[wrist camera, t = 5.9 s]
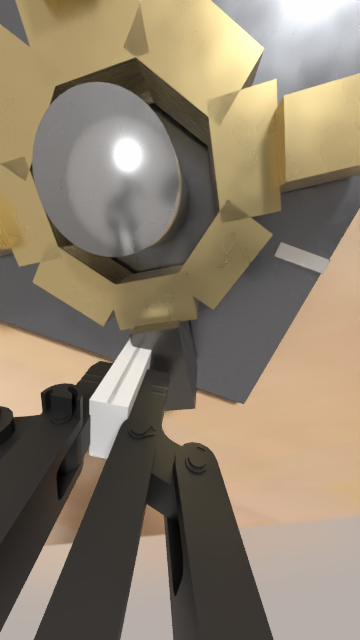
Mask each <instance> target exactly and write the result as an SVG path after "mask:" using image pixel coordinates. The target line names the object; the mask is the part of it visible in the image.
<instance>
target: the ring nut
mask: <svg viewBox="0 0 360 640" xmlns="http://www.w3.org/2000/svg"><path fill="white" fill-rule="evenodd" d="M15 1H16V4H17V7H18V10H19V13H20V16H21V20H22V23H23V26H24V29H25V32H26V35H27V39H28V42H29V45H30V47H29V46H28V45H27V44H25V43H24V42H23V41H21V40H20V39H19V38H17V37H16V36H15V35H14V34H12V33H11V32H10V31H8V30H7V29H6V28H4V27H3V26H2V25H1V24H0V256H4V255H8V254H14V256H15V258H16V261H17V263H18V265H19V267H20V266H25V265H30V264H35V263H40V264H39V267H38V269H37V272H36V274H35V277H34V279H33V283H34V284H36V285H38V286H39V287H41V288H42V289H44V290H46V291H47V292H49V293H50V294H52V295H54V296H55V297H57V298H58V299H60V300H62V301H63V302H65V303H66V304H68V305H70V306H71V307H73V308H74V309H76V310H78V311H79V312H81V313H82V314H84V315H86V316H87V317H89V318H90V319H92V320H94V321H95V322H97V323H98V324H100V325H102V326H104V325H106V324H107V323H108V322H109V321H110V320H111V319H112V318H113V317H114V316H115V315H116V319H117V322H118V325H119V328H120V330H125V329H132V328H134V329H133V330H132V331H131V333H130V334H129V336H130V339H131V342H132V346H133V347H137V348H143V349H148V350H152V351H151V359H150V367H149V370H154V371H160V372H165V373H167V374H168V377H169V379H170V383H169V388H168V394H167V400H166V406H165V411H169V410H182V409H195V404H196V386H197V367H198V366H197V361H196V356H195V351H194V346H193V341H192V336H191V331H190V326H189V321H188V320H194V319H197V316H198V305H199V300H200V301H201V302H202V303H204V304H205V305H207V306H208V307H210V308H211V309H213V310H214V309H215V307H216V306H217V305H218V304H219V302H220V301H221V300H222V298H223V297H224V296H225V295H226V293H227V292H228V291H229V290H230V288H231V287H232V286H233V285H234V283H235V282H236V281H237V280H238V278H239V277H240V276H241V275H242V273H243V272H244V271H245V269H246V268H247V267H248V266H249V264H250V263H251V262H252V261H253V259H254V258H255V257H256V256H257V254H258V253H259V252H260V251H261V249H262V248H263V247H264V245H265V244H266V243H267V242H268V240H269V239H270V238H271V237H272V235H273V234H272V233H270V232H269V231H268V230H266V229H265V228H264V227H263V226H261V225H260V224H259V223H257V222H256V221H255V220H253V219H252V218H253V217H258V216H262V215H266V214H270V213H274V212H278V211H281V196H280V193H283V192H287V191H291V190H296V189H300V188H305V187H309V186H313V185H318V184H322V183H327V182H331V181H336V180H340V179H344V178H349V177H353V176H358V175H360V73H359V74H355V75H352V76H349V77H345V78H342V79H338V80H335V81H332V82H328V83H325V84H321V85H318V86H315V87H311V88H308V89H304V90H301V91H298V92H294V93H291V94H287V95H284V96H283V98H282V100H281V101H280V103H279V105H278V106H277V79H274V80H271V81H267V82H264V83H261V84H258V85H254V86H252V85H253V82H254V79H255V76H256V73H257V70H258V67H259V64H260V61H261V57H262V54H263V51H264V48H263V47H262V46H261V45H260V44H259V43H258V42H257V41H255V40H254V39H253V38H252V37H251V36H250V35H249V34H248V33H247V32H245V31H244V30H243V29H242V28H241V27H240V26H239V25H238V24H237V23H235V22H234V21H233V20H232V19H231V18H230V17H229V16H228V15H227V14H226V13H224V12H223V11H222V10H221V9H220V8H219V7H218V6H217V5H216V4H214V3H213V2H212V1H211V0H15ZM88 82H105V83H111V84H114V85H118V86H121V87H123V88H125V89H127V90H129V91H131V92H132V93H134V94H135V95H137V96H138V97H140V98H141V99H142V100H143V101H144V102H145V103H146V104H151V103H155V104H156V105H157V106H158V107H160V108H161V109H162V110H163V111H165V112H166V113H167V114H169V115H170V116H171V117H172V118H174V119H175V120H176V121H177V122H179V123H180V124H181V125H182V126H184V127H185V128H186V129H187V130H189V131H190V132H191V133H192V134H194V135H195V136H196V137H197V138H199V139H200V140H201V141H202V142H204V143H205V144H206V145H207V146H208V153H209V161H210V169H211V177H212V184H213V192H214V200H215V208H216V217H215V218H214V220H213V221H212V223H211V224H210V226H209V227H208V229H207V230H206V232H205V233H204V235H203V236H202V238H201V239H200V241H199V242H198V244H197V245H196V247H195V248H194V250H193V251H192V253H191V254H190V256H189V257H188V259H187V260H186V262H185V263H184V264H183V265H177V266H172V267H167V268H162V269H156V270H151V271H146V272H140V273H135V274H133V273H132V272H130V271H129V270H127V269H126V268H124V267H123V266H121V265H120V264H118V263H117V262H115V261H114V260H112V259H111V258H109V257H106V256H99V255H96V254H92V253H90V252H87V251H85V250H83V249H81V248H80V247H78V246H76V245H75V244H73V243H72V242H71V241H69V240H68V239H67V238H66V237H65V236H64V235H63V234H62V233H61V232H60V231H59V230H58V229H57V228H56V227H55V225H54V224H53V223H52V221H51V220H50V218H49V217H48V215H47V213H46V211H45V210H44V208H43V205H42V203H41V201H40V199H39V196H38V192H37V189H36V185H35V181H34V175H33V166H32V154H33V145H34V139H35V135H36V131H37V129H38V126H39V123H40V121H41V119H42V117H43V115H44V113H45V111H46V110H47V109H48V107H49V106H50V105H51V103H52V102H53V101H54V100H55V99H56V98H57V97H58V96H59V95H61V94H62V93H64V92H65V91H67V90H68V89H70V88H72V87H74V86H77V85H80V84H84V83H88Z"/></svg>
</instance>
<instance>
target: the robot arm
mask: <svg viewBox="0 0 360 640" xmlns="http://www.w3.org/2000/svg"><path fill="white" fill-rule="evenodd" d="M151 351H152V350H148V349H143V348H137V347H133V346H132V342H131V339H129V341H128V342H127V344H126V345H125V347H124V348H123V350H122V351H121V353H120V354H119V356H118V357H117V359H116V360H115V362H114V363H108V362H102V361H99V362H98V363H96V364H94V365H93V366H91V367H90V368H89V370H88V371H87V372H86V374H85V375H84V376H83V377H82V378H81V380H80V381H79V382H78V383H77V384H76V385H73V384H58V385H54V386H51V387H49V388H47V389H46V390H44V391H43V392H41V400H42V410H43V412H42V414H41V415H35V416H25V417H13V412H12V411H11V410H10V409H9V408H6V407H2V406H0V632H1V630H2V628H3V626H4V623H5V622H6V620H7V618H8V616H9V614H10V612H11V610H12V608H13V605H14V604H15V602H16V599H17V598H18V596H19V594H20V592H21V590H22V588H23V586H24V584H25V582H26V580H27V578H28V576H29V574H30V572H31V570H32V568H33V566H34V564H35V562H36V560H37V558H38V556H39V554H40V552H41V550H42V548H43V546H44V544H45V542H46V540H47V538H48V536H49V534H50V532H51V530H52V528H53V526H54V524H55V522H56V520H57V518H58V516H59V514H60V512H61V510H62V508H63V506H64V504H65V502H66V500H67V499H68V497H69V495H70V493H71V491H72V489H73V487H74V485H75V483H76V481H77V479H78V477H79V475H80V473H81V471H82V467H83V457H84V455H85V453H86V451H87V450H88V448H89V455H90V456H95V457H100V458H104V459H107V461H106V463H105V466H104V468H103V471H102V473H101V475H100V478H99V480H98V483H97V485H96V488H95V490H94V493H93V495H92V498H91V500H90V503H89V505H88V507H87V510H86V512H85V515H84V517H83V520H82V522H81V525H80V527H79V530H78V532H77V535H76V537H75V539H74V542H73V544H72V547H71V549H70V552H69V554H68V557H67V559H66V562H65V564H64V567H63V569H62V572H61V574H60V576H59V579H58V581H57V584H56V586H55V589H54V591H53V594H52V596H51V599H50V601H49V604H48V606H47V609H46V611H45V613H44V616H43V618H42V621H41V623H40V626H39V628H38V631H37V634H36V636H35V638H34V640H120V638H121V632H122V628H123V622H124V617H125V612H126V607H127V602H128V597H129V592H130V587H131V581H132V576H133V571H134V566H135V561H136V556H137V550H138V545H139V540H140V535H141V530H142V525H143V520H144V515H145V509H146V504H148V505H149V506H151V507H152V508H154V509H155V510H157V511H158V512H160V513H161V514H163V515H164V522H165V535H166V548H167V561H168V573H169V587H170V600H171V613H172V626H173V640H273V636H272V633H271V630H270V627H269V624H268V621H267V617H266V614H265V611H264V608H263V605H262V602H261V598H260V595H259V592H258V589H257V586H256V583H255V579H254V576H253V573H252V570H251V567H250V564H249V560H248V557H247V554H246V551H245V548H244V545H243V541H242V538H241V535H240V532H239V529H238V525H237V522H236V519H235V516H234V513H233V510H232V506H231V503H230V500H229V497H228V494H227V491H226V487H225V484H224V481H223V478H222V475H221V472H220V468H219V465H218V462H217V460H216V458H215V456H214V454H213V452H212V451H211V450H210V449H209V448H208V447H206V446H204V445H202V444H200V443H194V442H191V443H186V444H184V445H183V446H180V445H178V444H177V443H175V442H173V441H172V440H170V439H169V438H168V437H167V436H166V435H165V434H164V432H163V430H162V421H163V416H164V411H165V406H166V400H167V394H168V388H169V383H170V379H169V377H168V374H167V373H165V372H160V371H154V370H149V367H150V359H151Z"/></svg>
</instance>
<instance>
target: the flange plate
mask: <svg viewBox="0 0 360 640" xmlns="http://www.w3.org/2000/svg"><path fill="white" fill-rule="evenodd" d="M211 1H212V2H213V3H214V4H216V5H217V6H218V7H219V8H220V9H221V10H222V11H223V12H224V13H226V14H227V15H228V16H229V17H230V18H231V19H232V20H233V21H234V22H235V23H237V24H238V25H239V26H240V27H241V28H242V29H243V30H244V31H245V32H247V33H248V34H249V35H250V36H251V37H252V38H253V39H254V40H255V41H257V42H258V43H259V44H260V45H261V46H262V47H263V48H264V51H263V54H262V57H261V61H260V64H259V67H258V70H257V73H256V76H255V79H254V82H253V85H252V86H254V85H258V84H261V83H264V82H267V81H271V80H274V79H277V106H278V105H279V103H280V101H281V100H282V98H283V96H284V95H287V94H291V93H294V92H298V91H301V90H304V89H308V88H311V87H315V86H318V85H321V84H325V83H328V82H332V81H335V80H338V79H342V78H345V77H349V76H352V75H355V74H359V73H360V0H211ZM0 24H1V25H2V26H3V27H4V28H6V29H7V30H8V31H10V32H11V33H12V34H14V35H15V36H16V37H17V38H19V39H20V40H21V41H23V42H24V43H25V44H27V45H28V46H29V47H30V45H29V42H28V39H27V35H26V32H25V29H24V26H23V23H22V20H21V16H20V13H19V10H18V7H17V4H16V1H15V0H0ZM32 166H33V175H34V181H35V185H36V189H37V192H38V196H39V199H40V201H41V203H42V205H43V208H44V210H45V211H46V213H47V215H48V217H49V218H50V220H51V221H52V223H53V224H54V225H55V227H56V228H57V229H58V230H59V231H60V232H61V233H62V234H63V235H64V236H65V237H66V238H67V239H68V240H69V241H71V242H72V243H73V244H75V245H76V246H78V247H80V248H81V249H83V250H85V251H87V252H90V253H92V254H96V255H99V256H106V257H109V258H111V259H112V260H114V261H115V262H117V263H118V264H120V265H121V266H123V267H124V268H126V269H127V270H129V271H130V272H132V273H133V274H135V273H140V272H146V271H151V270H156V269H162V268H167V267H172V266H177V265H183V264H184V263H185V262H186V260H187V259H188V257H189V256H190V254H191V253H192V251H193V250H194V248H195V247H196V245H197V244H198V242H199V241H200V239H201V238H202V236H203V235H204V233H205V232H206V230H207V229H208V227H209V226H210V224H211V223H212V221H213V220H214V218H215V217H216V208H215V200H214V192H213V184H212V177H211V169H210V161H209V153H208V146H207V145H206V144H205V143H204V142H202V141H201V140H200V139H199V138H197V137H196V136H195V135H194V134H192V133H191V132H190V131H189V130H187V129H186V128H185V127H184V126H182V125H181V124H180V123H179V122H177V121H176V120H175V119H174V118H172V117H171V116H170V115H169V114H167V113H166V112H165V111H163V110H162V109H161V108H160V107H158V106H157V105H156V104H155V103H151V104H146V103H145V102H144V101H143V100H142V99H141V98H140V97H138V96H137V95H135V94H134V93H132V92H131V91H129V90H127V89H125V88H123V87H121V86H118V85H114V84H111V83H105V82H88V83H84V84H80V85H77V86H74V87H72V88H70V89H68V90H67V91H65V92H64V93H62V94H61V95H59V96H58V97H57V98H56V99H55V100H54V101H53V102H52V103H51V105H50V106H49V107H48V109H47V110H46V111H45V113H44V115H43V117H42V119H41V121H40V123H39V126H38V129H37V131H36V135H35V139H34V145H33V154H32ZM280 196H281V211H278V212H274V213H270V214H266V215H262V216H258V217H253V218H252V219H253V220H255V221H256V222H257V223H259V224H260V225H261V226H263V227H264V228H265V229H266V230H268V231H269V232H270V233H272V234H273V235H272V237H271V238H270V239H269V240H268V242H267V243H266V244H265V245H264V247H263V248H262V249H261V251H260V252H259V253H258V254H257V256H256V257H255V258H254V259H253V261H252V262H251V263H250V264H249V266H248V267H247V268H246V269H245V271H244V272H243V273H242V275H241V276H240V277H239V278H238V280H237V281H236V282H235V283H234V285H233V286H232V287H231V288H230V290H229V291H228V292H227V293H226V295H225V296H224V297H223V298H222V300H221V301H220V302H219V304H218V305H217V306H216V307H215V309H214V310H213V309H211V308H210V307H208V306H207V305H205V304H204V303H202V302H201V301H200V300H199V305H198V316H197V319H194V320H188V321H189V326H190V331H191V336H192V341H193V346H194V351H195V356H196V361H197V366H198V367H197V386H196V388H198V389H201V390H204V391H207V392H210V393H213V394H216V395H219V396H221V397H224V398H227V399H230V400H233V401H236V402H239V403H242V404H244V403H245V401H246V400H247V398H248V396H249V394H250V393H251V391H252V389H253V388H254V386H255V384H256V383H257V381H258V379H259V377H260V376H261V374H262V372H263V371H264V369H265V367H266V366H267V364H268V362H269V361H270V359H271V357H272V355H273V354H274V352H275V350H276V349H277V347H278V345H279V344H280V342H281V340H282V339H283V337H284V335H285V333H286V332H287V330H288V328H289V327H290V325H291V323H292V322H293V320H294V318H295V316H296V315H297V313H298V311H299V310H300V308H301V306H302V305H303V303H304V301H305V300H306V298H307V296H308V294H309V293H310V291H311V289H312V288H313V286H314V284H315V283H316V281H317V279H318V277H319V276H320V274H321V273H322V274H323V272H324V271H325V269H326V267H327V266H328V264H329V262H330V261H331V260H329V259H330V257H331V255H332V254H333V252H334V250H335V249H336V247H337V245H338V244H339V242H340V240H341V238H342V237H343V235H344V233H345V232H346V230H347V228H348V227H349V225H350V223H351V222H352V220H353V218H354V216H355V215H356V213H357V211H358V210H359V208H360V175H358V176H353V177H349V178H344V179H340V180H336V181H331V182H327V183H322V184H318V185H313V186H309V187H305V188H300V189H296V190H291V191H287V192H283V193H280ZM39 264H40V263H35V264H30V265H25V266H20V267H19V265H18V263H17V261H16V258H15V256H14V254H8V255H4V256H0V321H3V322H6V323H9V324H12V325H15V326H18V327H21V328H24V329H26V330H29V331H32V332H35V333H38V334H41V335H44V336H47V337H50V338H53V339H56V340H58V341H61V342H64V343H67V344H70V345H73V346H76V347H79V348H82V349H85V350H88V351H90V352H93V353H96V354H99V355H102V356H105V357H108V358H111V359H114V360H116V359H117V357H118V356H119V354H120V353H121V351H122V350H123V348H124V347H125V345H126V344H127V342H128V341H129V339H130V336H129V334H130V333H131V331H132V330H133V329H134V328H132V329H125V330H120V328H119V325H118V322H117V319H116V315H115V316H114V317H113V318H112V319H111V320H110V321H109V322H108V323H107V324H106V325H104V326H102V325H100V324H98V323H97V322H95V321H94V320H92V319H90V318H89V317H87V316H86V315H84V314H82V313H81V312H79V311H78V310H76V309H74V308H73V307H71V306H70V305H68V304H66V303H65V302H63V301H62V300H60V299H58V298H57V297H55V296H54V295H52V294H50V293H49V292H47V291H46V290H44V289H42V288H41V287H39V286H38V285H36V284H34V283H33V279H34V277H35V274H36V272H37V269H38V267H39Z"/></svg>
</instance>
